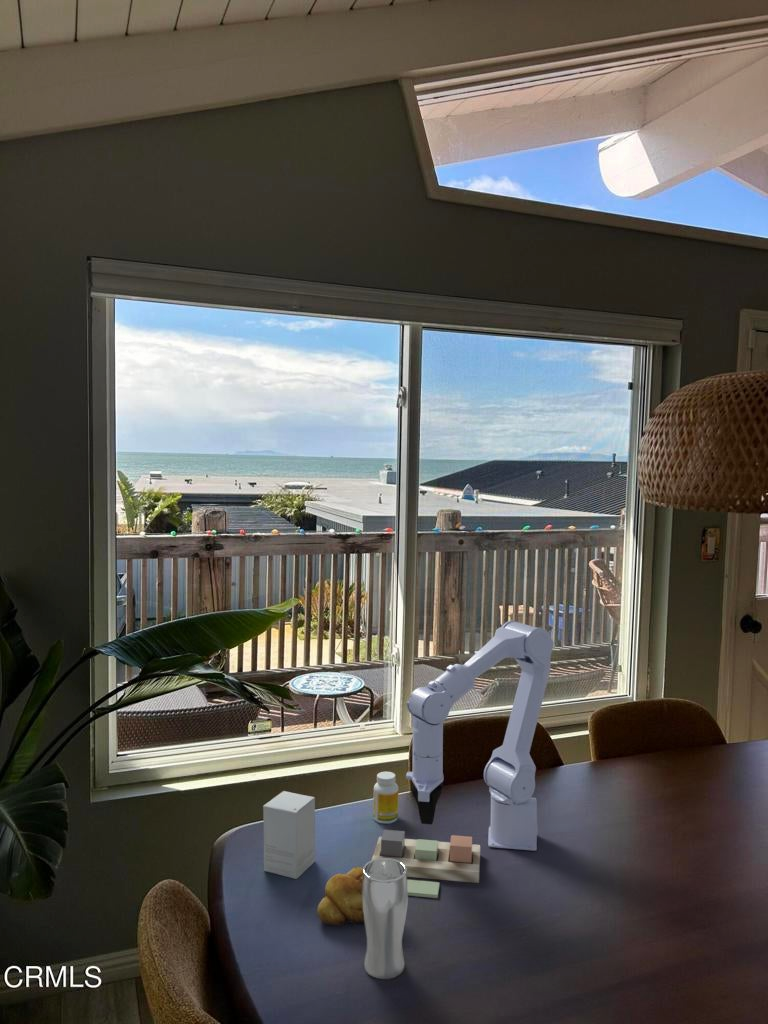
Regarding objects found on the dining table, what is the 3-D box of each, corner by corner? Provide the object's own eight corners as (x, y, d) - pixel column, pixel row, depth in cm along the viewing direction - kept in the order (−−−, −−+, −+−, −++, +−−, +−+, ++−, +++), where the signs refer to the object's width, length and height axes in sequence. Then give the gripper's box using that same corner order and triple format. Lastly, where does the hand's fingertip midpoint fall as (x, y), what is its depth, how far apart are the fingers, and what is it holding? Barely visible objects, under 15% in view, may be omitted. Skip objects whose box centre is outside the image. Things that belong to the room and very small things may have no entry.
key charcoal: (404, 846, 142) (404, 831, 141) (401, 857, 138) (402, 841, 137) (384, 844, 142) (384, 829, 142) (381, 855, 138) (381, 839, 138)
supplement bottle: (368, 817, 158) (368, 774, 157) (387, 810, 161) (387, 768, 161) (384, 827, 154) (384, 782, 153) (403, 819, 157) (403, 775, 156)
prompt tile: (439, 885, 132) (439, 882, 132) (437, 898, 128) (437, 894, 128) (406, 882, 132) (406, 879, 132) (403, 895, 129) (403, 891, 129)
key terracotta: (472, 852, 140) (472, 836, 139) (471, 863, 136) (471, 847, 135) (451, 850, 140) (451, 835, 140) (449, 861, 136) (449, 845, 136)
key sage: (438, 855, 141) (438, 840, 140) (436, 866, 137) (436, 851, 136) (417, 854, 141) (417, 839, 141) (415, 865, 137) (415, 849, 137)
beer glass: (360, 952, 113) (360, 857, 112) (404, 949, 114) (405, 856, 113) (362, 983, 106) (362, 882, 105) (410, 980, 107) (410, 880, 106)
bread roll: (324, 938, 116) (324, 890, 116) (308, 905, 125) (308, 860, 125) (398, 921, 121) (399, 874, 121) (378, 890, 130) (378, 846, 130)
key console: (480, 854, 142) (480, 845, 142) (478, 883, 132) (479, 872, 132) (379, 846, 145) (379, 836, 145) (370, 873, 136) (370, 862, 135)
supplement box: (316, 861, 140) (316, 796, 139) (296, 880, 133) (296, 812, 132) (283, 852, 143) (283, 789, 142) (262, 871, 136) (262, 804, 136)
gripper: (411, 737, 146) (410, 804, 146) (401, 765, 131) (401, 839, 132) (446, 739, 145) (445, 806, 145) (440, 768, 130) (440, 842, 131)
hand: (427, 822), depth 139 cm, fingers closed
